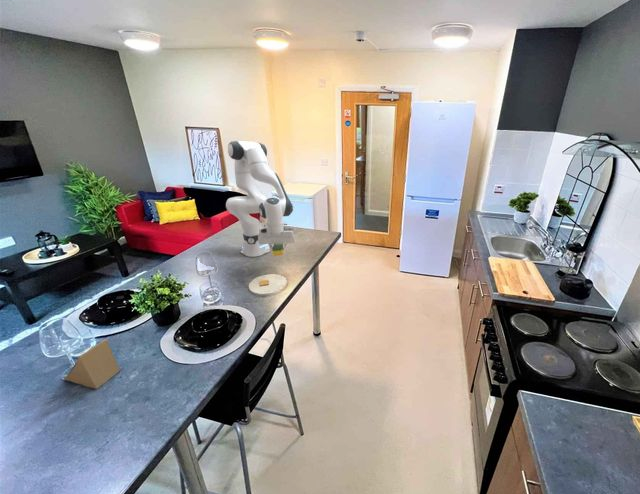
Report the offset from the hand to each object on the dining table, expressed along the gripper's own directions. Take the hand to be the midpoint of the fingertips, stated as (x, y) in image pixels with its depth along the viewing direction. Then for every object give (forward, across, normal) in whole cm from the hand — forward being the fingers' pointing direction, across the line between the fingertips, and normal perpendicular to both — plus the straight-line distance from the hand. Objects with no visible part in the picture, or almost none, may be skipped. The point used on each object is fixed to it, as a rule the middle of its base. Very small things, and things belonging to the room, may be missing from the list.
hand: (278, 250), depth 166 cm
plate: (+15, +5, +13) cm, 21 cm away
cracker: (+14, +7, +13) cm, 20 cm away
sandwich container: (+16, +58, +67) cm, 90 cm away
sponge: (+2, 0, 0) cm, 2 cm away
